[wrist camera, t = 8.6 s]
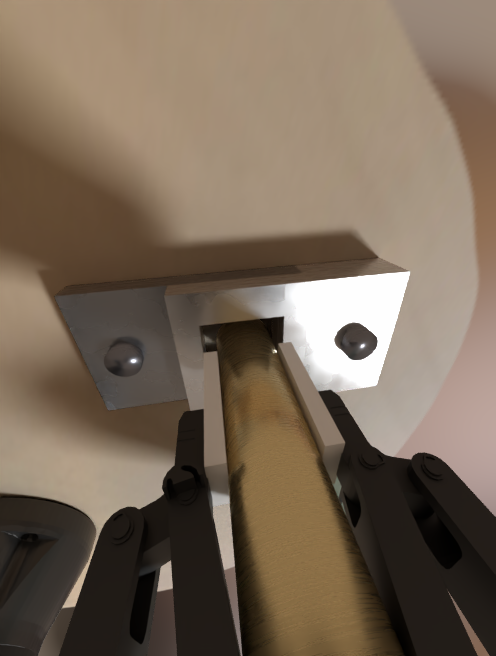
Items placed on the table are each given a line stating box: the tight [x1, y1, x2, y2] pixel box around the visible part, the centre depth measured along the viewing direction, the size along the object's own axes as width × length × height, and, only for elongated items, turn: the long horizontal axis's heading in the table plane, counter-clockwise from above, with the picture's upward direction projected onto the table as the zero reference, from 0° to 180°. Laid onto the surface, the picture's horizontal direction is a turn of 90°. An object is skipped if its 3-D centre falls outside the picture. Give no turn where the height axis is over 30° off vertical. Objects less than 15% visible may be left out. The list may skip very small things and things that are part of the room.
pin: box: [216, 319, 405, 656], centre depth 11 cm, size 4×4×14 cm
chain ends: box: [54, 258, 410, 411], centre depth 17 cm, size 20×9×4 cm, turn 93°
